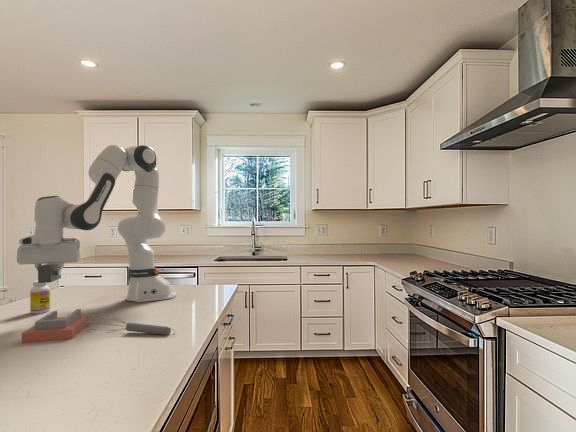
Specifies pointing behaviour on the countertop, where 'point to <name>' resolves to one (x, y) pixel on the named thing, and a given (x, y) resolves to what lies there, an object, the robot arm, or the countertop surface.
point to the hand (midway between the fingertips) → (49, 275)
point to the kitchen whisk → (136, 327)
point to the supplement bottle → (39, 298)
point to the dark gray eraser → (48, 273)
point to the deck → (55, 327)
